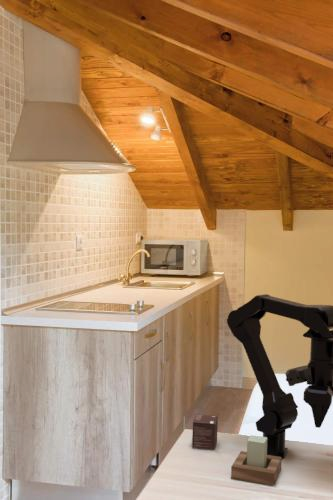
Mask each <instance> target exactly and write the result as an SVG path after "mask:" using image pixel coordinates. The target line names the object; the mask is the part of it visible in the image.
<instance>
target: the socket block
mask: <svg viewBox="0 0 333 500" xmlns="http://www.w3.org/2000/svg"><path fill="white" fill-rule="evenodd" d="M281 470H282V458H281V457H277V456H271V455H267V466H266V468H261V467H254V466H248V465H247V451H244V450H240V452H239V454H238V455H237V456H236V458H235V460H234V462H233V463H232V465H231V471H230V473H231V474H230V479H231V480H237V481H242V482H246V483H247V482H248V483H252V484H260V485H266V486H271V487H274V486H275V485H276V481H277V480H278V477H279V475H280V472H281Z"/></svg>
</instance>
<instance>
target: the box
mask: <svg viewBox="0 0 333 500" xmlns="http://www.w3.org/2000/svg"><path fill="white" fill-rule="evenodd" d="M218 418H219V416H217V415H210V414H209V415H208V414H199V413H196V414H195V416H194V418H193V421H192V440H191V448H192V449H195V448H198V449H197V450H207V451H208V450H209V451H215V449H216V446H217V443H218V422H219V421H218Z"/></svg>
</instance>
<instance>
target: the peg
mask: <svg viewBox="0 0 333 500" xmlns="http://www.w3.org/2000/svg"><path fill="white" fill-rule="evenodd" d="M246 443H247V447H246V450H247V451H246V452H247V465H248V466H254V467H261V468H266V466H267V437H263V436H259V435H252V434H250V436H249V437H248V439H247V442H246Z"/></svg>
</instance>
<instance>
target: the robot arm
mask: <svg viewBox="0 0 333 500" xmlns="http://www.w3.org/2000/svg"><path fill="white" fill-rule="evenodd" d="M267 313H269V314H272V315H276V316H281V317H285V318H288V319H291V320H294V321H298V322H300V323H301V324H302V325H303V326H304V327H306V328H309V329H308V330H307V331H306V332H304V333H303V334H302V337H304V338H307V339H308V338H309V339H310V352H309V353H310V354H309V355H310V356H309V362H308V363H307V365H302V366H297V367H294V368H289V369H288V370H286V372H285V373H284V374H285V377H286V378H285V381H286V382H287V383H288V386H289V387H292V386H293V387H294V386H296V385H298V384H302V383H306V385H308V386H307V387H306V388H305V389H304V391H303V401H304V403H306V404H308V405H309V407H310V408H311V412H312V416H313V417H312V418H313V422H314V427H315V428H319V429H320V428H321V426H322V425H323V422H324V421H325V417H326V416H327V413H328V411H329V410H330V407H331V405H332V402H333V305H330V304H304V303H301V302H297V301H291V300H288V299H284V298H279V297H275V296H271V295H270V294H268V293H265V294H257V295H255V296H253V297H252V298H251V300H249V301H248V302H246V303H244V304H242V305H241V306H239V307H238V308H237V309H234V310H231V311H230V312H229V313H228V315H227V318H226V325H227V326H228V328H229V330H230V331H231V333H232V336H233V337H234V338H236V340H238V341H239V342H240V343H241V344H242V346H243V349H244V351H245V353H246V356H247V359H248V361H249V363H250V366H251V368H252V371H253V373H254V376H255V378H256V382H257V384H258V387H259V389H260V391H261V394H262V406H261V408H262V412H263V413H262V414H263V416H262V417H260V418H259V419H258V420H257V421H255V427H256V430H257V431H258V432H261V433H262V437H267V455H271V456H277V457H281V459H285V458H286V455H287V453H288V447H286V430H288V429H291V428H292V426H293V423H295V422H296V421H297V419H298V418H297V417H298V416H299V411H298V409H297V408H299V407H298V404H296V402H295V399H294V396H293V394H292V393H291V392H288V393H286V392H285V391H284V390H283V389H282V388H281V386H280V383H279V381H278V378H277V376H276V373H275V371H274V368H273V366H272V363H271V361H270V359H269V357H268V354H267V352H266V349H265V347H264V344H263V341H262V339H261V332H262V331H261V330H262V329H261V328H262V325H261V321H260V320H261V319H263V318H264V317H265V315H266V314H267Z"/></svg>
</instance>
